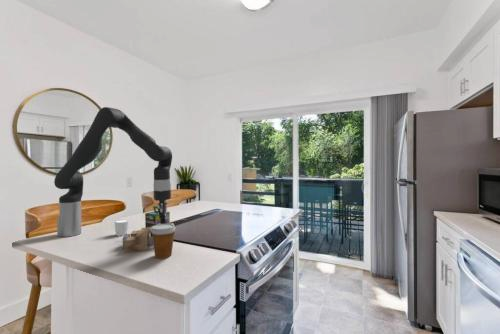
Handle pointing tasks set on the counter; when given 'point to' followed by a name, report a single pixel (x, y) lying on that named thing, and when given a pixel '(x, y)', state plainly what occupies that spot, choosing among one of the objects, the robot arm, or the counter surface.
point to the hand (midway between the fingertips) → (163, 226)
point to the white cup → (121, 227)
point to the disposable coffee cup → (163, 239)
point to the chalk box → (155, 218)
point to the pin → (149, 240)
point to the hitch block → (137, 240)
